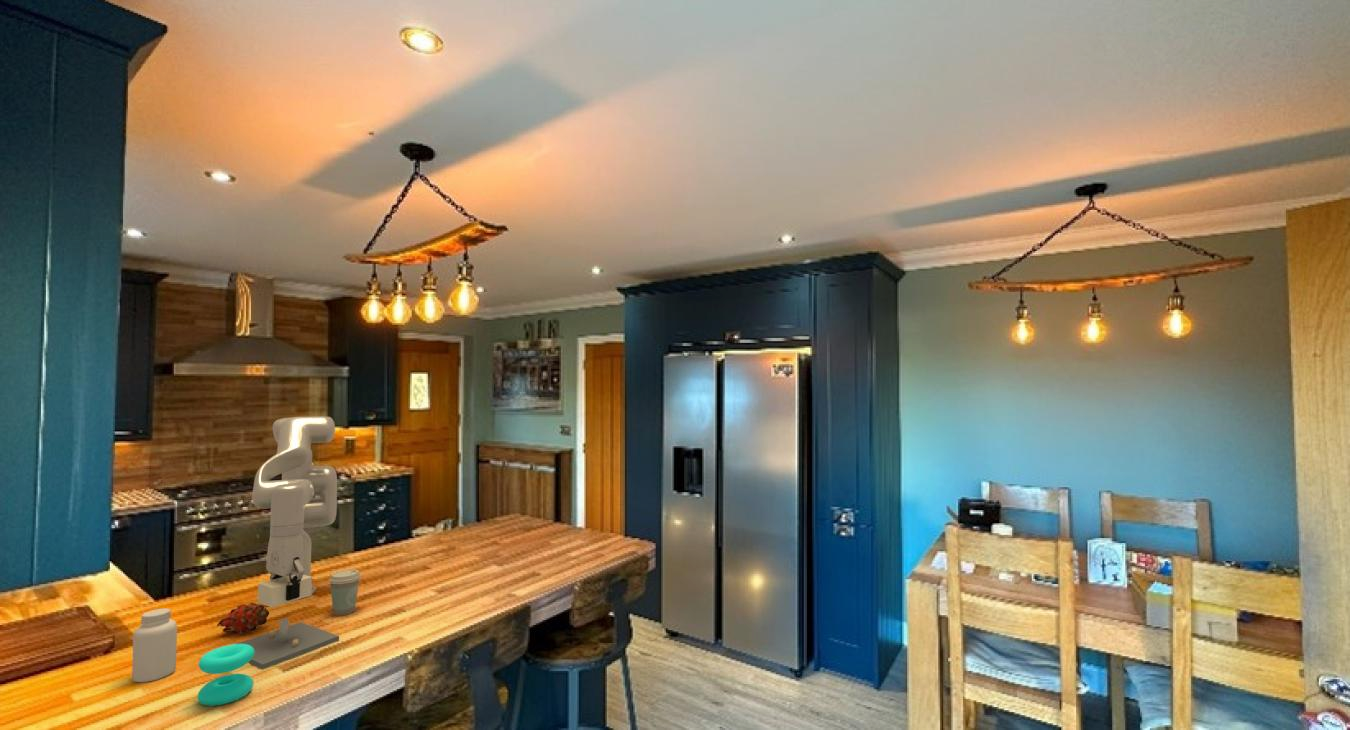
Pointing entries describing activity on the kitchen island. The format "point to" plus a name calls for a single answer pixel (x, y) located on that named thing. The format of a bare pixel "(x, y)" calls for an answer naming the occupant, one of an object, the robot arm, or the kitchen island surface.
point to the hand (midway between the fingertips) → (284, 595)
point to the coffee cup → (344, 591)
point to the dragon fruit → (244, 618)
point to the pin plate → (287, 643)
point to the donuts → (227, 685)
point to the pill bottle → (154, 646)
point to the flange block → (281, 590)
